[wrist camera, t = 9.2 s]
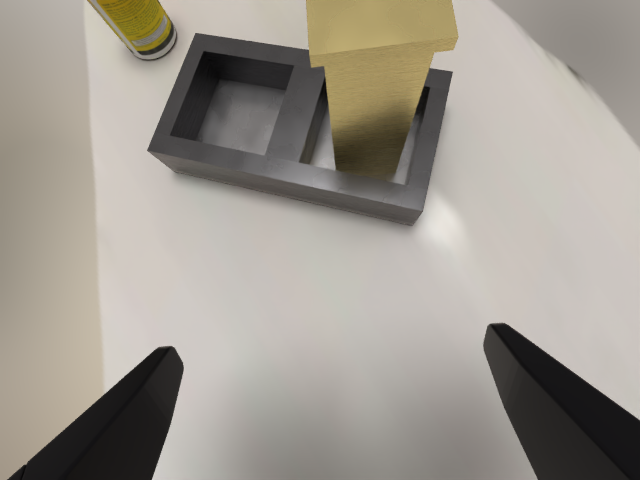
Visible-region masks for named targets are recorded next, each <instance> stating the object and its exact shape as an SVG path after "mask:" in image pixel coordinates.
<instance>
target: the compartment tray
mask: <svg viewBox="0 0 640 480" xmlns="http://www.w3.org/2000/svg"><path fill="white" fill-rule="evenodd" d="M452 73H453V72H451V71H445V70H438V69H431V68H429V71H428V74H427V77H426V80H425V83H424V86H423V89H422V92H421V96H420V99H419V102H418V105H417V108H416V111H415V114H414V117H413V120H412V123H411V127H410V130H409V133H408V136H407V139H406V142H405V145H404V148H403V151H402V155H401V158H400V161H399V164H398V167H397V170H396V173H388V174H378V175H367V176H360V175H356V174H351V173H346V172H341V171H336V168H335V159H334V150H333V141H332V132H331V123H330V114H329V105H328V96H327V87H326V78H325V69H324V66H320V67H312V68H311V63H310V57H309V50H305V49H298V48H292V47H285V46H278V45H272V44H265V43H259V42H252V41H245V40H239V39H232V38H225V37H219V36H212V35H205V34H199V33H195V36H194V38H193V41H192V43H191V45H190V48H189V50H188V53H187V55H186V58H185V60H184V62H183V65H182V67H181V70H180V72H179V75H178V77H177V79H176V82H175V84H174V87H173V89H172V91H171V94H170V96H169V99H168V101H167V104H166V106H165V108H164V111H163V113H162V116H161V118H160V121H159V123H158V125H157V128H156V130H155V133H154V135H153V138H152V140H151V142H150V145H149V147H148V150H147V151H148V152H150V153H151V154H152V155H153V156H155V157H156V158H157V159H159V160H160V161H161V162H162V163H164V164H165V165H166V166H168V167H169V168H170V169H171V170H173V171H174V172H179V173H183V174H188V175H192V176H196V177H201V178H205V179H209V180H214V181H218V182H223V183H227V184H231V185H236V186H240V187H245V188H249V189H253V190H258V191H262V192H266V193H271V194H275V195H280V196H284V197H288V198H293V199H297V200H302V201H306V202H310V203H315V204H319V205H323V206H328V207H332V208H337V209H341V210H345V211H350V212H354V213H359V214H363V215H367V216H372V217H376V218H380V219H385V220H389V221H394V222H398V223H402V224H407V225H411V226H412V225H413V224H414V223H415V221H416V220H417V218H418V217H419V216H420V214H421V213H422V212H423V208H424V203H425V198H426V194H427V189H428V185H429V180H430V175H431V171H432V166H433V161H434V157H435V152H436V147H437V143H438V138H439V133H440V129H441V124H442V119H443V115H444V110H445V105H446V101H447V96H448V92H449V87H450V82H451V78H452Z"/></svg>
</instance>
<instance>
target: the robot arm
mask: <svg viewBox="0 0 640 480" xmlns="http://www.w3.org/2000/svg"><path fill="white" fill-rule="evenodd" d="M483 347H484V352H485V355H486V358H487V361H488V364H489V366H490V369H491V372H492V375H493V378H494V381H495V383H496V386H497V389H498V392H499V395H500V398H501V400H502V403H503V406H504V408H505V410H506V413H507V415H508V417H509V419H510V421H511V424H512V426H513V428H514V430H515V432H516V434H517V436H518V438H519V440H520V443H521V445H522V447H523V449H524V451H525V453H526V455H527V457H528V460H529V462H530V464H531V466H532V468H533V470H534V472H535V474H536V476H537V479H538V480H640V420H639V419H637V418H636V417H635V416H633V415H632V414H630V413H629V412H628V411H626V410H625V409H623V408H622V407H621V406H619V405H618V404H617V403H615V402H614V401H612V400H611V399H610V398H608V397H607V396H606V395H604V394H603V393H601V392H600V391H599V390H597V389H596V388H594V387H593V386H592V385H590V384H589V383H588V382H586V381H585V380H583V379H582V378H581V377H579V376H578V375H577V374H575V373H574V372H572V371H571V370H570V369H568V368H567V367H565V366H564V365H563V364H561V363H560V362H559V361H557V360H556V359H554V358H553V357H552V356H550V355H549V354H548V353H546V352H545V351H543V350H542V349H541V348H539V347H538V346H536V345H535V344H534V343H532V342H531V341H530V340H528V339H527V338H525V337H524V336H523V335H521V334H520V333H519V332H517V331H516V330H514V329H513V328H512V327H510V326H509V325H507V324H505V323H492V324H489V325H488V326H487V330H486V334H485V339H484V344H483ZM183 370H184V366H183V362H182V360H181V358H180V357H179V355H178V353H177V351H176V349H175V348H174V347H173V346H163V347H158V348H157V349H155V350H154V351H153V352H152V353H151V354H150V355H149V356H147V357H146V358H145V359H144V360H143V361H142V362H141V363H139V364H138V365H137V366H136V367H135V368H134V369H133V370H132V371H130V372H129V373H128V374H127V375H126V376H125V377H124V378H122V379H121V380H120V381H119V382H118V383H117V384H116V385H114V386H113V387H112V388H111V389H110V390H109V391H108V392H107V393H105V394H104V395H103V396H102V397H101V398H100V399H99V400H97V401H96V402H95V403H94V404H93V405H92V406H91V407H89V408H88V409H87V410H86V411H85V412H84V413H83V414H82V415H80V416H79V417H78V418H77V419H76V420H75V421H74V422H72V423H71V424H70V425H69V426H68V427H67V428H66V429H65V430H63V432H61V433H60V434H59V435H58V436H56V437H55V438H54V439H53V440H52V441H51V442H50V443H49V444H47V445H46V446H45V447H44V448H43V449H42V450H41V451H39V452H38V453H37V454H36V455H35V456H34V457H33V458H32V459H30V461H28V463H27V465H23V466H22V467H21V468H20V469H19V470H18V471H17V472H15V473H14V474H13V475H12V476H11V477H10V478H9V479H7V480H152V477H153V474H154V472H155V469H156V466H157V463H158V460H159V457H160V454H161V451H162V448H163V445H164V442H165V439H166V437H167V434H168V431H169V427H170V424H171V421H172V417H173V413H174V409H175V404H176V400H177V396H178V392H179V388H180V383H181V379H182V375H183Z"/></svg>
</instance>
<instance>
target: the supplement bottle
mask: <svg viewBox="0 0 640 480" xmlns="http://www.w3.org/2000/svg"><path fill="white" fill-rule="evenodd" d="M87 1H88V2H89V3H90V4H91V6H92V7H93V8H94V9H95V10H96V11H97V13H98V14H99V15H100V16H101V17H102V18H103V20H104V21H105V22H106V23H107V24H108V25H109V27H110V28H111V29H112V30H113V31H114V32H115V34H116V35H117V36H118V37H119V38H120V40H121V41H122V42H123V43H124V44H125V45H126V46H127V48H128V49H129V50H130V51H131V52H132V53H133V54H134V55H135V56H137V57H139V58H142V59H155V58H158V57H161V56H163V55H164V54H166V53H167V52H168V51H169V50H170V49H171V47H172V46H173V44H174V42H175V38H176V30H175V27H174V25H173V23H172V22H171V20H170V18H169V17H168V15H167V14H166V12H165V10H164V9H163V7H162V6H161V4H160V2H159V1H158V0H87Z"/></svg>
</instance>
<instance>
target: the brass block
mask: <svg viewBox="0 0 640 480" xmlns="http://www.w3.org/2000/svg"><path fill="white" fill-rule="evenodd" d="M306 6H307V24H308V41H309V57H310V63H311V68H312V67H320V66H324V69H325V78H326V87H327V96H328V105H329V114H330V123H331V132H332V141H333V150H334V159H335V168H336V171H341V172H346V173H351V174H356V175H360V176H367V175H378V174H388V173H396V170H397V167H398V164H399V161H400V158H401V155H402V151H403V148H404V145H405V142H406V139H407V136H408V133H409V130H410V127H411V123H412V120H413V117H414V114H415V111H416V108H417V105H418V102H419V99H420V96H421V92H422V89H423V86H424V83H425V80H426V77H427V74H428V71H429V68H430V64H431V61H432V58H433V55H434V52H441V51H449V50H453V49H454V47H455V44H456V42H457V39H458V37H459V36H458V31H457V26H456V21H455V16H454V10H453V5H452V0H306Z"/></svg>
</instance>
